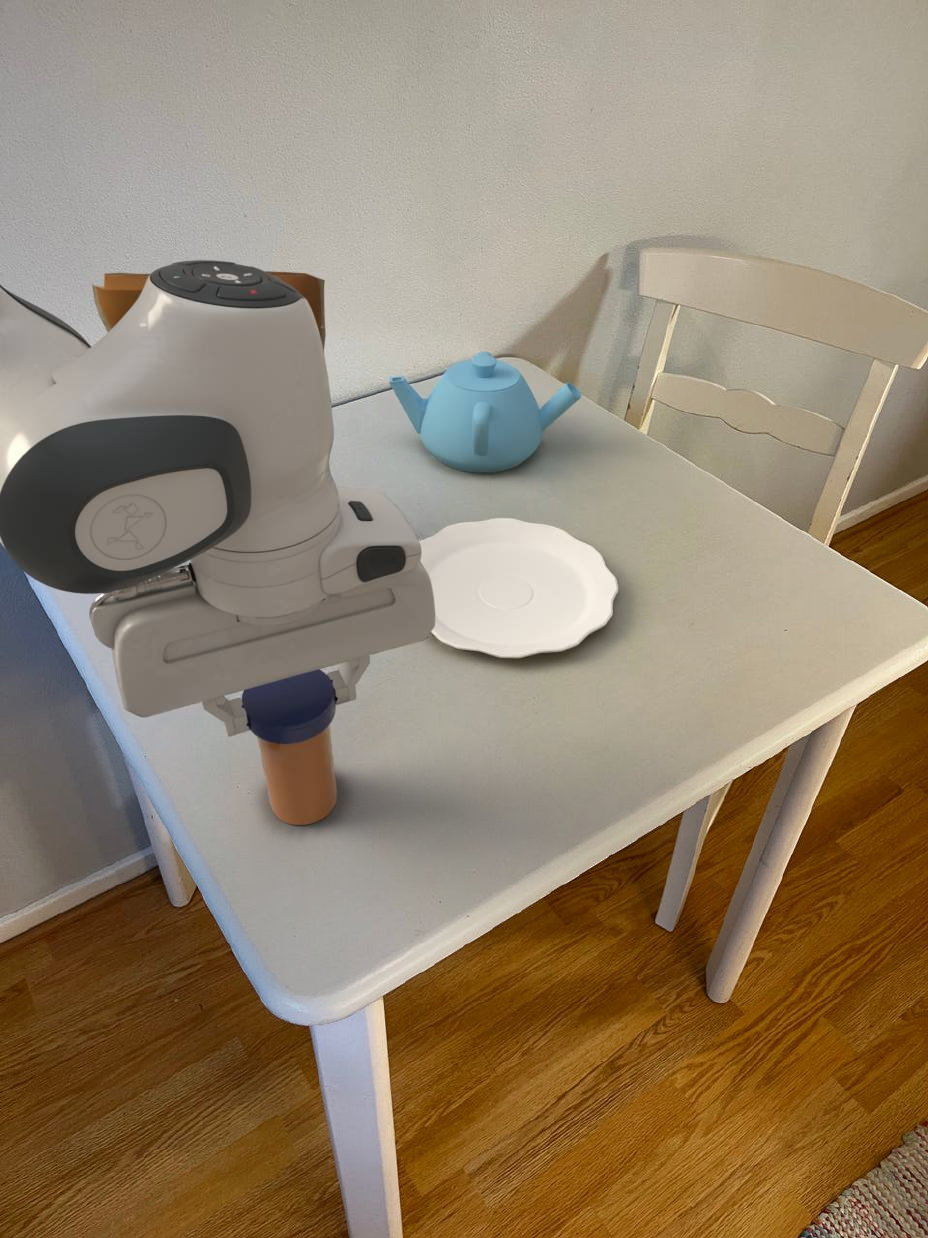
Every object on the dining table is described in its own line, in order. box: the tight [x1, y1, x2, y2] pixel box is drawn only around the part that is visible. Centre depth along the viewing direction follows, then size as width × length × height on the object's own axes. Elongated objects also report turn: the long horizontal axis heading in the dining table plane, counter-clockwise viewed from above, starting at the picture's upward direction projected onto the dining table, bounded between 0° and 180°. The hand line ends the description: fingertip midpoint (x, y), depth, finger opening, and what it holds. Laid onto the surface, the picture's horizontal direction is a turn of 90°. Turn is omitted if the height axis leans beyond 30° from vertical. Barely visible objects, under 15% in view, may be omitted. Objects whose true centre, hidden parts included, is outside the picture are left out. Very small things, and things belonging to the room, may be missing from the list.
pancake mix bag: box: [91, 270, 327, 352], centre depth 83 cm, size 7×19×28 cm, turn 84°
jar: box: [256, 723, 338, 826], centre depth 64 cm, size 5×5×10 cm
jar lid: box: [241, 669, 337, 744], centre depth 61 cm, size 6×6×2 cm
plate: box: [419, 517, 619, 659], centre depth 86 cm, size 21×21×2 cm
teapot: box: [389, 351, 582, 474], centre depth 104 cm, size 15×17×11 cm
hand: (291, 711), depth 62 cm, fingers closed on jar lid, 6 cm apart
